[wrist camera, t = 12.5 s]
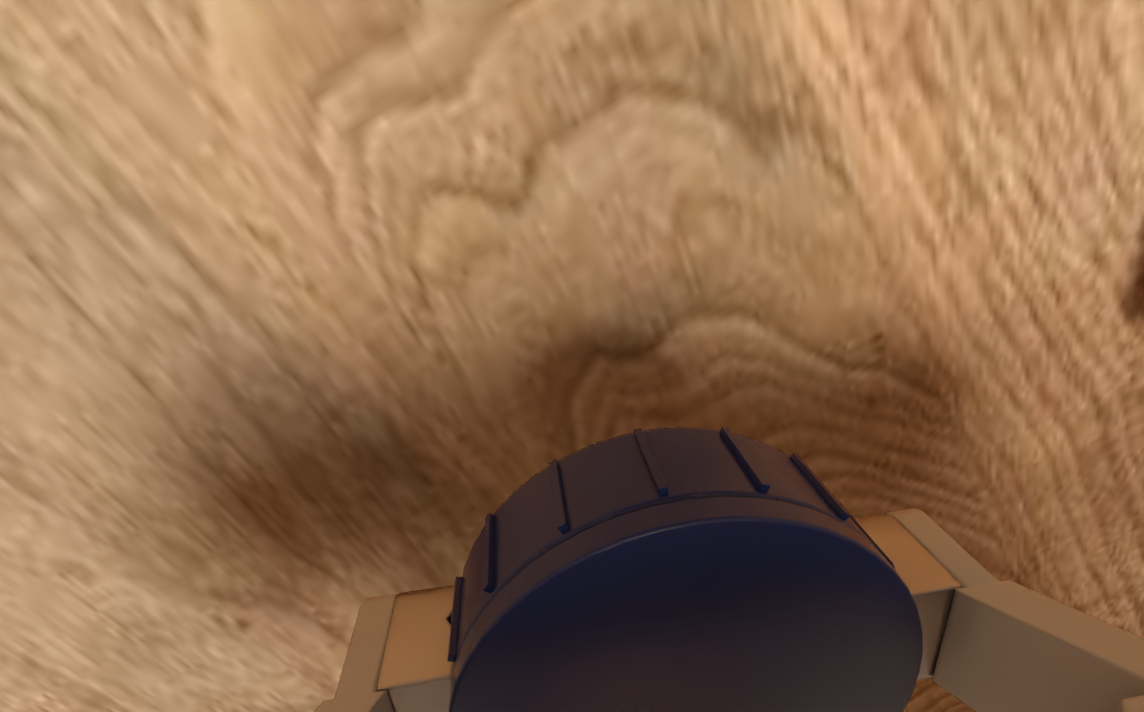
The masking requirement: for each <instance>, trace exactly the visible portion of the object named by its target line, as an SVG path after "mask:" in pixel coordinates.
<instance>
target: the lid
mask: <svg viewBox="0 0 1144 712" xmlns="http://www.w3.org/2000/svg"><path fill="white" fill-rule="evenodd" d="M894 568H895V566H894V564H893V562H892V561H891V560H890V559H889V558H888V557H887V556H886V554H885V553H884V552H883V551H882V550H881V549H880V548H879V546H878V545H877V544H876V543H875V542H874V541H873V540H872V538H871V537H870V536H869V535H868V534H867V533H866V532H865V530H864V529H863V528H862V527H861V526H860V525H859V524H858V522H857V521H856V520H855V519H854V518H853V517H852V516H851V514H850V513H849V512H848V511H847V510H846V509H845V508H844V506H843V505H842V504H841V503H840V502H839V501H838V500H837V499H836V498H835V497H834V496H833V495H832V494H831V492H830V491H829V490H828V489H827V488H826V487H825V485H824V484H823V483H822V482H821V481H820V480H819V479H818V477H817V476H816V475H815V474H814V473H813V472H812V471H811V469H810V468H809V467H808V466H807V465H806V464H805V463H804V461H803V460H802V459H801V458H800V457H799V456H798V455H797V454H795V453H793V454H792V455H791V456H788V455H787V454H785V453H784V452H782V451H780V450H778V449H776V448H774V447H772V446H770V445H767V444H765V443H763V442H761V441H758V440H755V439H752V438H749V437H745V436H742V435H739V434H736V433H732V432H731V430H730V429H729V428H727V427H722V428H721V430H720V431H719V430H713V429H707V428H684V427H677V428H663V429H662V428H658V429H651V430H646V431H642V429H641V428H640V429H635V430H634V433H630V434H625V435H621V436H618V437H614V438H611V439H608V440H605V441H601V442H597V443H595V444H591V445H589V446H588V447H586V448H583V449H581V450H579V451H577V452H574V453H572V454H570V455H567V456H566V457H564V458H562V459H561V460H559V461H556V459H554V460H552V461H551V462H549V466H548V467H547V468H545V469H543V470H542V471H541V472H539V473H537V474H536V475H535V476H533V477H531V478H530V479H529V480H528V481H527V482H526V483H524V484H523V485H522V486H521V487H520V488H519V489H517V490H516V491H515V492H514V493H513V494H512V495H511V496H510V497H509V498H508V499H507V500H506V501H505V502H504V503H503V504H502V505H501V506H500V507H499V509H498V510H497V511H496V512H495V514H494V515H493V514H491V513H489V514H488V515H487V516H486V518H485V526H484V528H483V530H482V531H481V533H480V535H479V537H478V538H477V540H476V542H475V543H474V545H473V547H472V549H471V552H470V554H469V557H468V559H467V562H466V564H465V566H464V570H463V575H462V577H456V579H455V587H454V597H453V607H452V617H451V627H450V637H449V648H448V658H447V661H449V662H453V668H452V681H451V691H450V702H449V712H903V711H904V709H905V707H906V705H907V703H908V701H909V699H910V697H911V695H912V693H913V691H914V688H915V685H916V682H917V679H918V676H919V673H920V667H921V661H922V655H923V630H922V625H921V621H920V616H919V612H918V608H917V606H916V603H915V601H914V599H913V597H912V595H911V592H910V590H909V588H908V587H907V585H906V584H905V583H904V581H903V580H902V579H901V577H900V576H899V574H898V573H897V572H896V570H895V569H894Z"/></svg>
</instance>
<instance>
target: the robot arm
mask: <svg viewBox="0 0 1144 712" xmlns="http://www.w3.org/2000/svg"><path fill="white" fill-rule="evenodd" d="M855 520H856V521H857V522H858V524H859V525H860V526H861V527H862V528H863V529H864V530H865V532H866V533H867V534H868V535H869V536H870V537H871V538H872V540H873V541H874V542H875V543H876V544H877V545H878V546H879V548H880V549H881V550H882V551H883V552H884V553H885V554H886V556H887V557H888V558H889V559H890V560H891V561H892V562H893V564H894V566H895V568H894V569H895V570H896V572H897V573H898V574H899V576H900V577H901V579H902V580H903V581H904V583H905V584H906V585H907V587H908V588H909V590H910V592H911V595H912V597H913V599H914V601H915V603H916V606H917V608H918V612H919V616H920V621H921V625H922V630H923V655H922V661H921V667H920V673H919V676H918V679H917V680H920V679H927V678H933V680H932V681H933V682H935V683H936V684H938V685H939V686H940V687H942V688H943V689H945V690H946V691H947V692H949V693H950V694H952V695H953V696H954V697H956V698H957V699H959V700H960V701H961V702H963V703H964V704H966V705H967V706H969V707H970V708H971V709H973V710H974V711H976V712H1144V638H1142V637H1139V636H1137V635H1135V634H1132V633H1130V632H1128V631H1125V630H1123V629H1121V628H1118V627H1116V626H1114V625H1112V624H1109V623H1107V622H1105V621H1102V620H1100V619H1098V618H1095V617H1093V616H1091V615H1088V614H1086V613H1084V612H1082V611H1079V610H1077V609H1075V608H1072V607H1070V606H1068V605H1065V604H1063V603H1061V602H1058V601H1056V600H1054V599H1052V598H1049V597H1047V596H1045V595H1042V594H1040V593H1038V592H1035V591H1033V590H1031V589H1028V588H1026V587H1024V586H1022V585H1019V584H1017V583H1015V582H1012V581H1010V580H1003V581H998V580H997V579H996V578H995V577H994V576H993V575H992V574H990V573H989V572H988V571H987V570H986V569H985V568H984V567H983V566H982V565H981V564H980V563H979V562H977V561H976V560H975V559H974V558H973V557H972V556H971V555H970V554H969V553H968V552H967V551H966V550H965V549H963V548H962V547H961V546H960V545H959V544H958V543H957V542H956V541H955V540H954V539H953V538H952V537H950V536H949V535H948V534H947V533H946V532H945V531H944V530H943V529H942V528H941V527H940V526H939V525H938V524H936V523H935V522H934V521H933V520H932V519H931V518H930V517H929V516H928V515H927V514H926V513H924V512H923V511H921V510H918V509H916V508H911V509H906V510H900V511H894V512H889V513H885V514H878V515H872V516H866V517H861V518H855ZM454 587H455V585H452V586H445V587H438V588H431V589H423V590H416V591H409V592H402V593H399V594H393V595H386V596H378V597H371V598H366V599H365V601H364V602H363V604H362V605H361V607H360V609H359V612H358V616H357V619H356V623H355V626H354V630H353V634H352V637H351V641H350V644H349V648H348V651H347V655H346V659H345V662H344V666H343V669H342V673H341V676H340V680H339V683H338V687H337V691H336V694H335V698H334V699H331V700H326V701H323V702H322V703H321V704H320V706H319V707H318V708H317V709H316V710H315V711H314V712H449V702H450V691H451V681H452V668H453V662H449V661H447V658H448V648H449V637H450V627H451V617H452V607H453V597H454Z"/></svg>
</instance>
